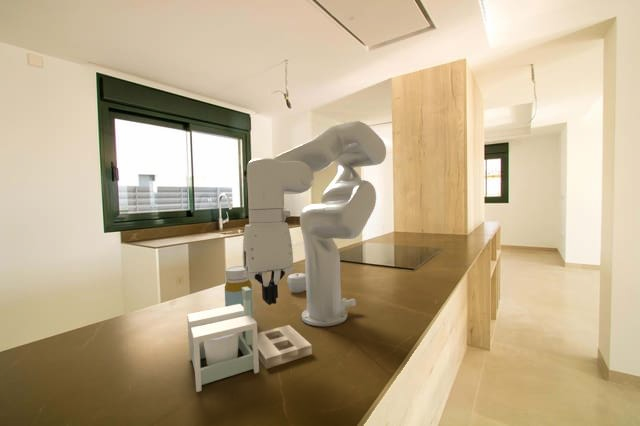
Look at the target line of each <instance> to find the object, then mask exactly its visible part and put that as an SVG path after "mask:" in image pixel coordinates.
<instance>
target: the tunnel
mask: <svg viewBox="0 0 640 426" xmlns="http://www.w3.org/2000/svg"><path fill="white" fill-rule="evenodd" d="M243 315H244V307H243V306H242V305H241V304H237V305H232V306H227V307H225V306H222V307H218V308H211V309H207V310H202V311H197V312H192V313H187V316H186V317H187V336H188V354H189V355H188V356H189V361H192V348H191V347H193V346H194V360H195V370H194V377H195V378H194V380H195V390H196V393H199V392H201V391H202V390H203V389H202V385H201V370H200V368H201V359H200V349H199V345H201V344H204V341H206V340H210V339H214V338H219V337H223V336H227V335H231V334H235V333H239V335H242V336H243V334H244V333H243V332H245V331H247V330H251V329H252V343H253V349H252V351H253V366H254V369H253V373H254V374H258V373H260V364H259V361H260V359H259V358H258V335H257V333H258V323H257V321H256V319H254V317H253V318H252V317H251V315H247V316H243ZM242 316H243V317H242ZM243 337H244V336H243Z"/></svg>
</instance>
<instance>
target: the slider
mask: <svg viewBox="0 0 640 426" xmlns="http://www.w3.org/2000/svg"><path fill="white" fill-rule="evenodd" d="M242 297H243V305H244V316H247V315H251V300H252V301H253V297H252V298H251V289H250V288H249V287H242ZM250 344H252V329H251V330H247V331H244V336H242V335H239V338H238V350H239V349H240V351H241V353H242V355H243V356H238V358H235V359H231V360H228V361H224V362H221V363H217V364H214V365H210V366H207V365H206V366H204V367H200V370H201V386H203V385H207V384H210V383H213V382H215V381H218V380H222V379H225V378H228V377H231V376H236V375H238V374H241V373H244V372H247V371H251V370H254V366H253V349H252V347H251V346H250ZM191 348H192V360H191V361H192V365H193V368H194V369H193V370H194V371H195V360H194V346H193V347H191ZM199 349H200V360H202V359H206V355H205V348H204V344H201V345H199Z"/></svg>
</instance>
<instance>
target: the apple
mask: <svg viewBox="0 0 640 426" xmlns="http://www.w3.org/2000/svg"><path fill="white" fill-rule="evenodd" d="M286 284H287V287H288V289H289V290H290V291H291V292H292V293H294V294H299V293H300V292H301V293H303V292H304V291H305V290H306V273H303V272H301V273H300V272H299V273H298V272H297V273H291V274H290V273H289V274H288V276H287V279H286Z"/></svg>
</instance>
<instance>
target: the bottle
mask: <svg viewBox="0 0 640 426" xmlns="http://www.w3.org/2000/svg"><path fill="white" fill-rule="evenodd" d="M244 271H245V269H244V267H243V265H240V266H239V265H237V266H230V267H227V268H225V286H224V304H225V306H224V307H227V306H232V305H237V304H241V305H242V306H243V307H244V305H243V297H242V287H249V288H250V289H251V298H252V300H251V317H252V318H253V319H254V309H253V308H254V306H253V288H252V287H253V285H252V282H251V279H246V278H245V277H244ZM243 316H244V315H243ZM243 316H242V317H243Z"/></svg>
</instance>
